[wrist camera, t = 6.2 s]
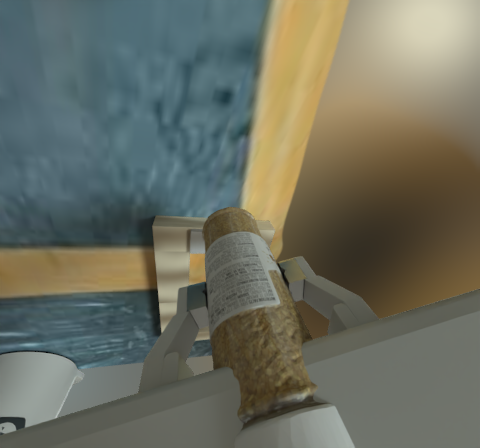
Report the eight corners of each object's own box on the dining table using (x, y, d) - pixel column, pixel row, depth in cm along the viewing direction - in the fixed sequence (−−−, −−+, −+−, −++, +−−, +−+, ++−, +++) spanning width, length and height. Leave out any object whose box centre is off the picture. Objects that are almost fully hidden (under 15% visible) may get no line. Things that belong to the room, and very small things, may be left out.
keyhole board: (238, 324, 44) (241, 338, 41) (164, 331, 40) (162, 347, 37) (269, 220, 29) (276, 232, 26) (155, 215, 25) (151, 228, 22)
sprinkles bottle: (258, 243, 17) (376, 505, 6) (208, 255, 17) (237, 560, 6) (253, 198, 14) (443, 514, 3) (193, 211, 14) (196, 616, 3)
